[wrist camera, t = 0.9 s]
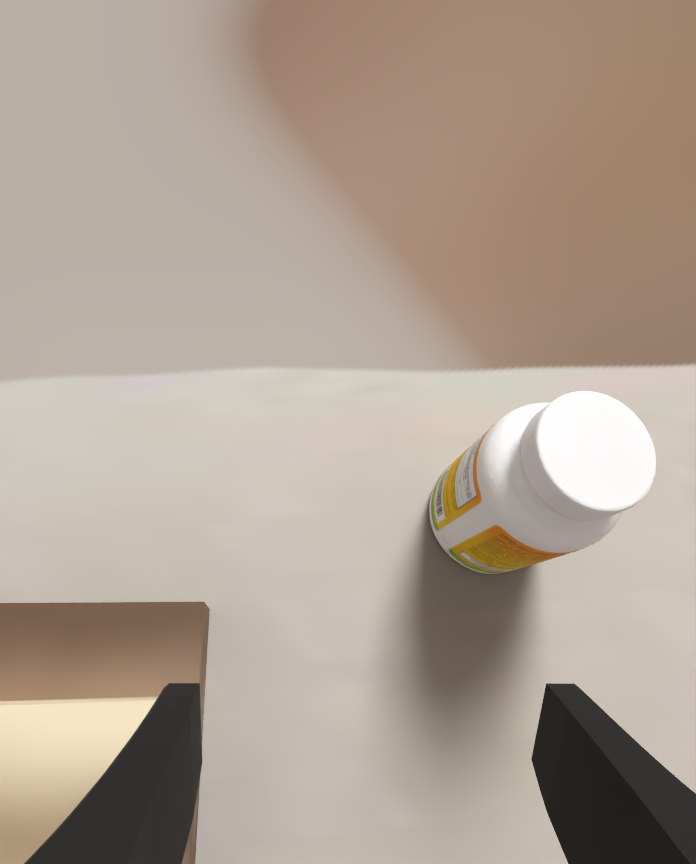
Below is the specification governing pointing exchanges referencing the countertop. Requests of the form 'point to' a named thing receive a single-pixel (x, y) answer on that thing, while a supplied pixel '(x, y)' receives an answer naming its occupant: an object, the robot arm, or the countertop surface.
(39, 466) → the countertop surface
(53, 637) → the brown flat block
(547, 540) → the supplement bottle
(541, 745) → the robot arm
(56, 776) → the maple block
